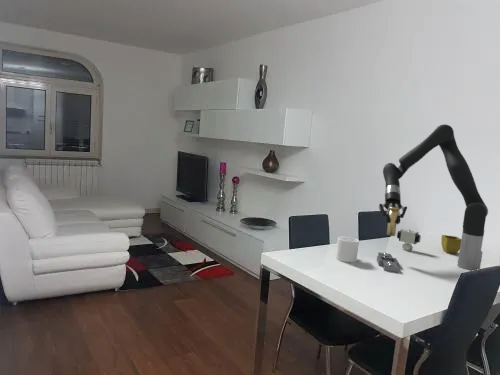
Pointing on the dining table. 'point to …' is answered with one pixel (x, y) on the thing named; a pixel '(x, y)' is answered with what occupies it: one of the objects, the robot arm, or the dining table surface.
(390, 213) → the brass pin
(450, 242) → the flower pot
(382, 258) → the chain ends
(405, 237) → the pneumatic valve
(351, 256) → the mug
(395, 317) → the dining table surface
